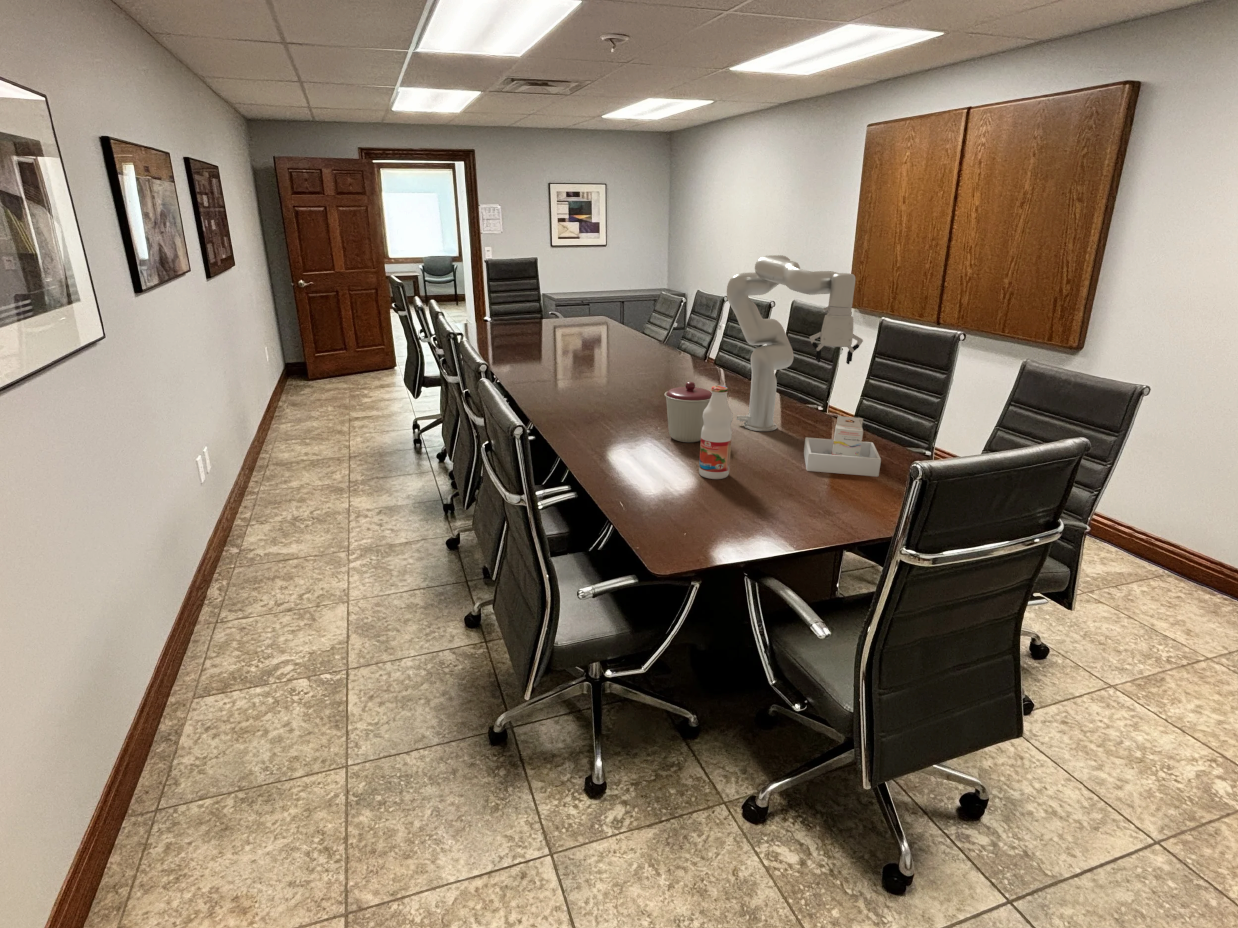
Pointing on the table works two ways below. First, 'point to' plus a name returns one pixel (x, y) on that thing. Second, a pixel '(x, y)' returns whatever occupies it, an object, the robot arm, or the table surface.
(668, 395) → the canister
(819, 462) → the tray
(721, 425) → the fruit juice
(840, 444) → the ink cartridge box
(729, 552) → the table surface
